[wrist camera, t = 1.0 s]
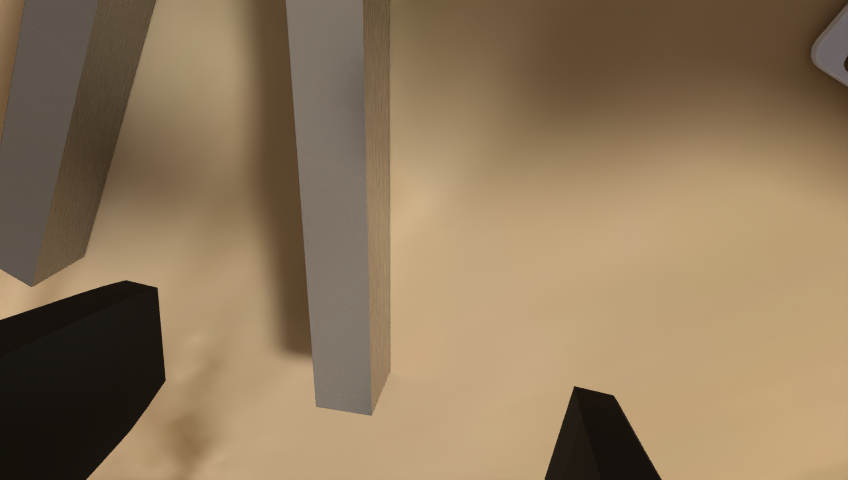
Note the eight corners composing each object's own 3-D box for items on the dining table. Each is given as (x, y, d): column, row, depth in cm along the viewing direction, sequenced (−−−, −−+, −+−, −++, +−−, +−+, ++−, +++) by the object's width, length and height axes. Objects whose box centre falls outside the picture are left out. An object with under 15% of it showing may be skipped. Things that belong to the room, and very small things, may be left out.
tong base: (402, -387, 13) (370, -468, 10) (151, 295, 22) (106, 330, 20) (207, -517, 12) (131, -628, 10) (38, 230, 22) (-19, 258, 20)
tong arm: (386, -417, 12) (334, -546, 9) (390, 370, 21) (364, 434, 18) (301, -408, 13) (223, -530, 10) (340, 363, 22) (305, 424, 19)
